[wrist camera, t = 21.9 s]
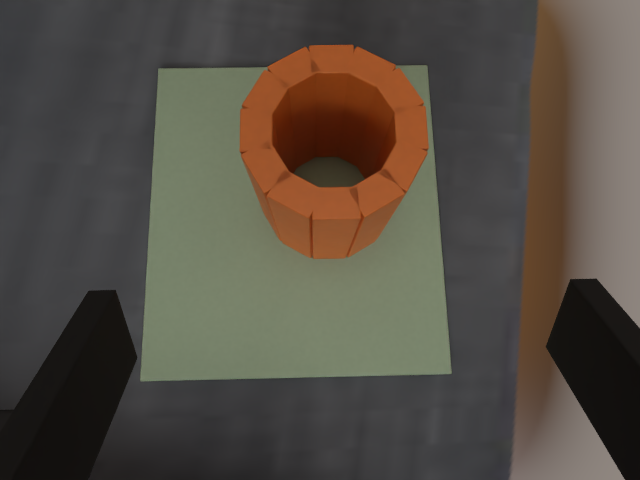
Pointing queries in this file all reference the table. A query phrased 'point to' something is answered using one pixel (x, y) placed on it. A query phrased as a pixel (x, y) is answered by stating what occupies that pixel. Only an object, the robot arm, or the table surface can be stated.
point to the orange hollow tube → (332, 145)
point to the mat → (277, 258)
